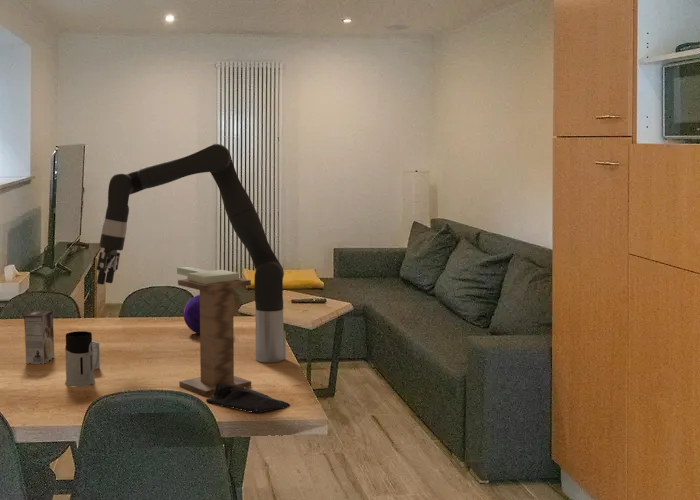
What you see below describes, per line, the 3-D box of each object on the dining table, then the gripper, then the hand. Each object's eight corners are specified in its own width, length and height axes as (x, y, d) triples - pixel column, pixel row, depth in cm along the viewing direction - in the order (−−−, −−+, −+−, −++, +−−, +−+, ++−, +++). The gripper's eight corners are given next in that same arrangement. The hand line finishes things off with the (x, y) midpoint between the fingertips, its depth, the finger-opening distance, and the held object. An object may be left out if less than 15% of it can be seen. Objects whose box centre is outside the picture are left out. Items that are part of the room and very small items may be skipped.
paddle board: (198, 271, 275) (198, 265, 275) (239, 279, 259) (239, 273, 259) (164, 275, 267) (164, 268, 266) (204, 283, 251) (204, 276, 251)
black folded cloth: (252, 419, 232) (252, 402, 232) (201, 402, 248) (201, 385, 247) (294, 407, 243) (294, 390, 243) (243, 391, 259) (243, 375, 258)
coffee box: (36, 357, 295) (34, 310, 293) (54, 357, 294) (53, 310, 292) (25, 364, 285) (23, 315, 283) (44, 364, 285) (43, 315, 283)
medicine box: (94, 366, 284) (93, 340, 283) (100, 369, 280) (99, 342, 279) (70, 370, 279) (69, 343, 278) (76, 373, 275) (75, 346, 274)
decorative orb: (210, 327, 344) (210, 290, 342) (231, 334, 332) (231, 295, 331) (176, 332, 334) (176, 293, 332) (196, 339, 323) (196, 299, 321)
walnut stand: (223, 376, 272) (223, 274, 269) (251, 386, 262) (250, 280, 258) (179, 386, 262) (177, 279, 258) (205, 396, 251) (204, 285, 248)
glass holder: (84, 377, 270) (82, 329, 268) (112, 385, 261) (110, 336, 260) (58, 383, 264) (57, 334, 262) (86, 392, 255) (85, 341, 253)
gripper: (118, 236, 278) (109, 286, 278) (131, 236, 292) (122, 284, 293) (95, 232, 278) (86, 282, 279) (109, 232, 293) (100, 280, 293)
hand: (104, 283), depth 286 cm, fingers open, 8 cm apart
